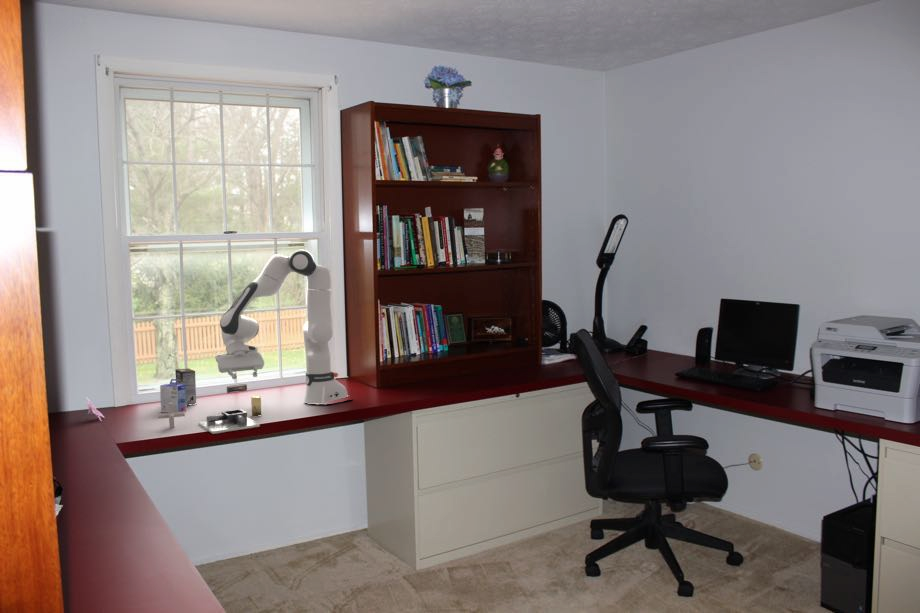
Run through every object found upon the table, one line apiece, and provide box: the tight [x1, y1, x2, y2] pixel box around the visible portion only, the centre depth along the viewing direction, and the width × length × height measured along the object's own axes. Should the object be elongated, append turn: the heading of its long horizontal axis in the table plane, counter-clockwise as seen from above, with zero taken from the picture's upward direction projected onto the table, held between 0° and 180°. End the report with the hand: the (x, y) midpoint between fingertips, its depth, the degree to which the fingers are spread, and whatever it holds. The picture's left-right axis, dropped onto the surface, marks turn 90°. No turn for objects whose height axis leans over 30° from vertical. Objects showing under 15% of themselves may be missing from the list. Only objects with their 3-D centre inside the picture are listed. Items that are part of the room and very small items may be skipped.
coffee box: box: [174, 368, 197, 405], centre depth 344 cm, size 9×6×16 cm
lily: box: [82, 396, 105, 422], centre depth 313 cm, size 12×12×10 cm
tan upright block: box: [250, 396, 262, 417], centre depth 319 cm, size 4×4×8 cm
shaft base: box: [197, 408, 261, 435], centre depth 302 cm, size 19×19×4 cm
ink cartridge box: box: [159, 378, 187, 413], centre depth 328 cm, size 10×6×14 cm, turn 71°
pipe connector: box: [157, 403, 186, 429], centre depth 300 cm, size 10×10×10 cm
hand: (245, 377), depth 328 cm, fingers open, 8 cm apart
